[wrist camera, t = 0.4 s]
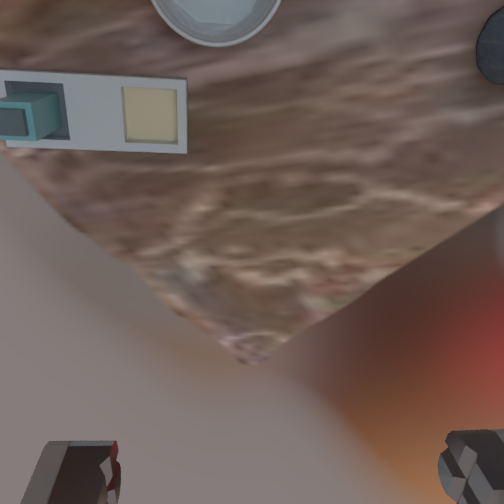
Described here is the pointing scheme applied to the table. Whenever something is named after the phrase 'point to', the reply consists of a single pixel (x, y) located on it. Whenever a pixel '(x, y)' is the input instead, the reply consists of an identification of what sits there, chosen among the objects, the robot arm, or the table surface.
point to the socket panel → (108, 110)
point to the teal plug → (29, 115)
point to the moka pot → (492, 48)
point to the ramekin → (216, 19)
